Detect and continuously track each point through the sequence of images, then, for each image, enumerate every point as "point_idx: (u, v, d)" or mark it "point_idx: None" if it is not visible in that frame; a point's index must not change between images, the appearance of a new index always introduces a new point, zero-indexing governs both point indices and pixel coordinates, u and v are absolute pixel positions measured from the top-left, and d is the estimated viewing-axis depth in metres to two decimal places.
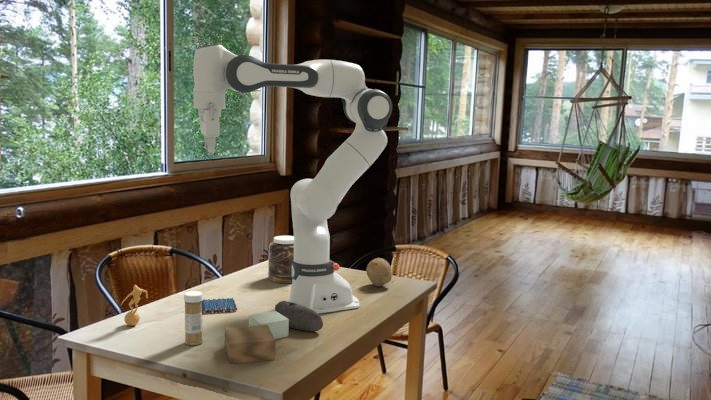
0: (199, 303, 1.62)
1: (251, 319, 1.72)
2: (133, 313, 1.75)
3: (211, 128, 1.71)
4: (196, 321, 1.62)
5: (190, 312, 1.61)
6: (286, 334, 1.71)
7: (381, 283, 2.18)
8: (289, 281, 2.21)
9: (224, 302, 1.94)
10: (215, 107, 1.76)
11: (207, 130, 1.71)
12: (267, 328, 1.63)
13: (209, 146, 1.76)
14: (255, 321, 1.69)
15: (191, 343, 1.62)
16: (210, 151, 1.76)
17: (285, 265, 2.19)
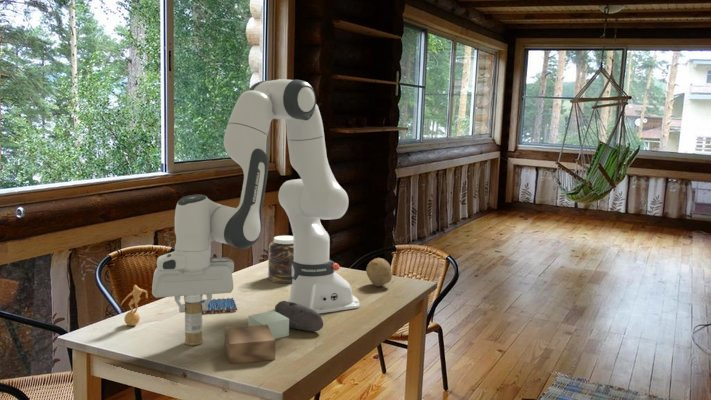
0: (199, 303, 1.62)
1: (251, 319, 1.71)
2: (133, 313, 1.75)
3: None
4: (195, 321, 1.62)
5: (190, 312, 1.61)
6: (287, 333, 1.71)
7: (381, 283, 2.18)
8: (289, 281, 2.21)
9: (224, 302, 1.94)
10: None
11: None
12: (267, 328, 1.63)
13: None
14: (256, 321, 1.69)
15: (191, 343, 1.62)
16: (207, 308, 1.64)
17: (285, 265, 2.19)
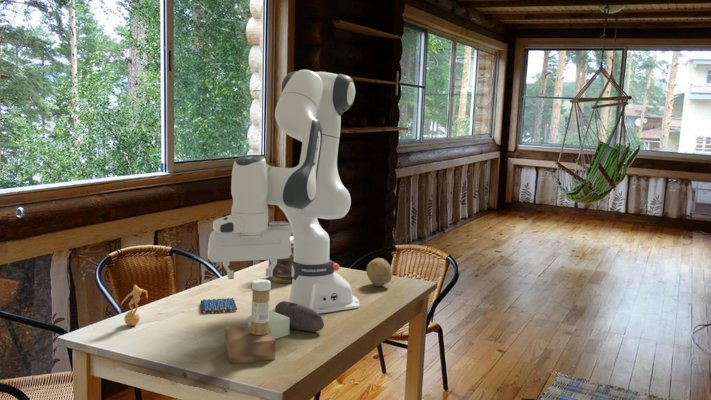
0: (267, 292, 1.57)
1: (251, 320, 1.71)
2: (133, 313, 1.75)
3: None
4: (263, 310, 1.56)
5: (258, 301, 1.56)
6: (287, 333, 1.72)
7: (381, 283, 2.18)
8: (289, 281, 2.21)
9: (224, 302, 1.94)
10: None
11: None
12: None
13: None
14: None
15: (258, 333, 1.57)
16: None
17: (285, 265, 2.19)
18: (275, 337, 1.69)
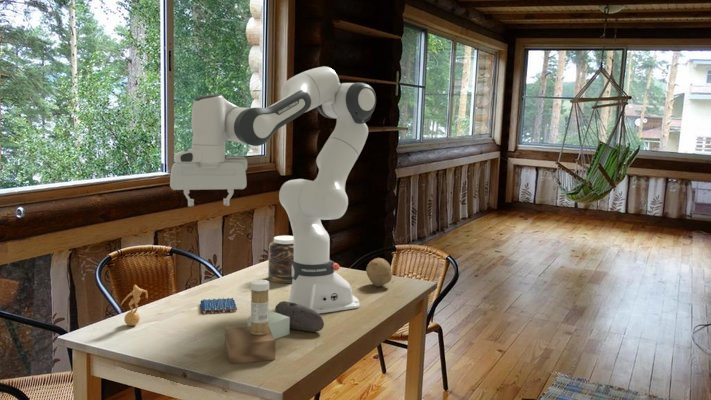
0: (266, 292, 1.57)
1: None
2: (133, 313, 1.75)
3: None
4: (263, 310, 1.56)
5: (257, 301, 1.56)
6: (287, 332, 1.72)
7: (381, 283, 2.18)
8: (289, 281, 2.21)
9: (224, 302, 1.94)
10: None
11: (246, 182, 1.73)
12: None
13: None
14: None
15: (258, 333, 1.57)
16: None
17: (285, 265, 2.19)
18: (276, 337, 1.69)
